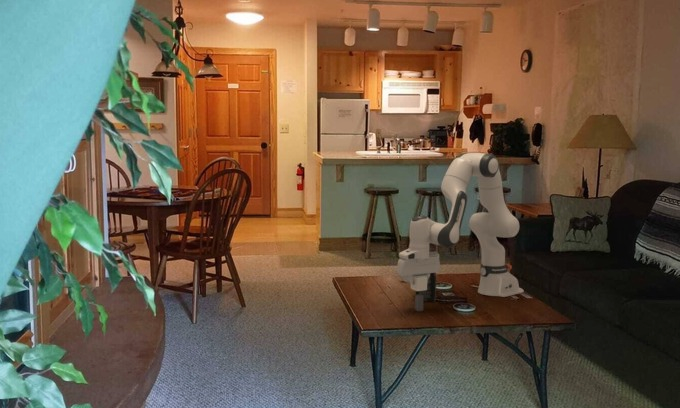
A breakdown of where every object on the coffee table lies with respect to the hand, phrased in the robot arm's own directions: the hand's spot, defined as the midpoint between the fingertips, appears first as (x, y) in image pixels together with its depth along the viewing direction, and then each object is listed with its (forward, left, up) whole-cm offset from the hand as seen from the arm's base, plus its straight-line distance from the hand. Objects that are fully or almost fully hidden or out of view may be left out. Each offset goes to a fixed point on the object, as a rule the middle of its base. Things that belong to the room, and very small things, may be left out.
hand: (418, 284), depth 273 cm
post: (0, 0, -12) cm, 12 cm away
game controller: (-28, -46, -12) cm, 55 cm away
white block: (0, 0, -2) cm, 2 cm away
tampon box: (-13, -15, -12) cm, 23 cm away
